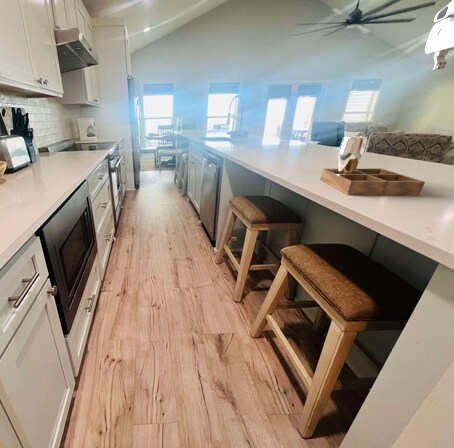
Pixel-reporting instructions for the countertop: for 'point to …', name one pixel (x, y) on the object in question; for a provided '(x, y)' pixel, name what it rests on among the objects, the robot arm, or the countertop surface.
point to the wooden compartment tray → (373, 182)
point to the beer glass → (350, 154)
